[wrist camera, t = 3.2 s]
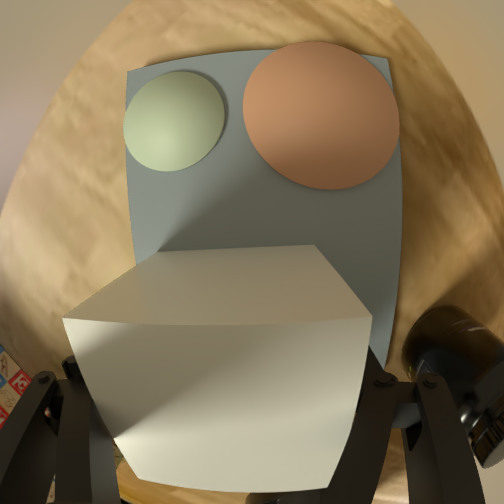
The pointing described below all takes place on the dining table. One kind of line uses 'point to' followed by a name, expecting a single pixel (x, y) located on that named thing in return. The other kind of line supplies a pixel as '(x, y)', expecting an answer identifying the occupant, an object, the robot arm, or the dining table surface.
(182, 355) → the plain off-white box
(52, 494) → the stack of blocks
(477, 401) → the supplement bottle
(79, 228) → the dining table surface
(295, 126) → the board
